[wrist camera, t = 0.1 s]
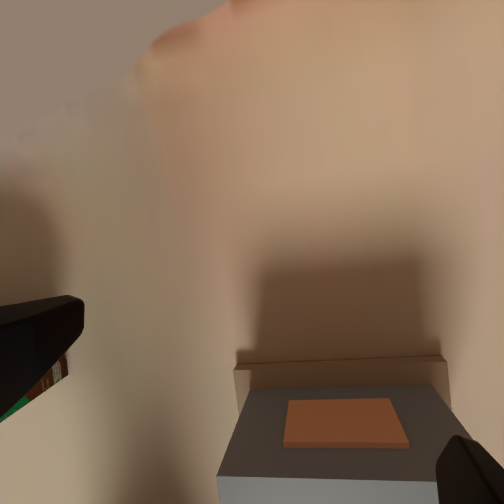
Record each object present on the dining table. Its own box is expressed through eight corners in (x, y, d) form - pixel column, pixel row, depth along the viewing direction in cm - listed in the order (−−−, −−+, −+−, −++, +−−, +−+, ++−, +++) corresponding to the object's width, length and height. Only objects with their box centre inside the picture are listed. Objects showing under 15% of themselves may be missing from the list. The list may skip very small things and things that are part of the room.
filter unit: (249, 466, 24) (214, 603, 15) (236, 364, 24) (192, 445, 15) (451, 470, 22) (547, 639, 13) (440, 355, 21) (532, 447, 12)
